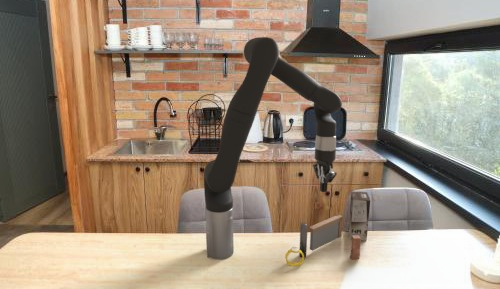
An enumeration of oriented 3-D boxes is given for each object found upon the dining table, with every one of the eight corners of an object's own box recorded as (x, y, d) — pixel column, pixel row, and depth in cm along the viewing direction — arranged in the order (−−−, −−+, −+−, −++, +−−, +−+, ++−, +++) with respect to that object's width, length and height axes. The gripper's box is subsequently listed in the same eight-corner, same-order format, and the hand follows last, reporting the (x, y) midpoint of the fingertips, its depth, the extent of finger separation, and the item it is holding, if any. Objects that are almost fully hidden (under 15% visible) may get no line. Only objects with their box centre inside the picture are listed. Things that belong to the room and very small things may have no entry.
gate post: (300, 258, 118) (301, 225, 115) (298, 254, 120) (299, 222, 117) (306, 257, 118) (308, 225, 115) (305, 254, 120) (306, 222, 117)
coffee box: (367, 240, 129) (370, 200, 125) (349, 239, 130) (352, 199, 127) (364, 229, 138) (367, 191, 134) (347, 228, 139) (350, 190, 135)
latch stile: (352, 259, 117) (353, 238, 115) (350, 256, 119) (351, 235, 117) (359, 259, 117) (361, 238, 115) (357, 256, 119) (358, 235, 117)
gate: (312, 251, 119) (313, 229, 117) (307, 249, 120) (308, 227, 118) (341, 237, 129) (342, 216, 127) (337, 235, 130) (338, 214, 128)
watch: (302, 263, 115) (304, 247, 114) (303, 267, 113) (305, 251, 111) (284, 261, 115) (286, 246, 114) (285, 266, 113) (287, 250, 111)
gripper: (307, 144, 131) (306, 187, 135) (326, 152, 119) (324, 199, 123) (324, 142, 134) (322, 184, 138) (344, 150, 122) (342, 196, 126)
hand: (323, 191), depth 131 cm, fingers closed
